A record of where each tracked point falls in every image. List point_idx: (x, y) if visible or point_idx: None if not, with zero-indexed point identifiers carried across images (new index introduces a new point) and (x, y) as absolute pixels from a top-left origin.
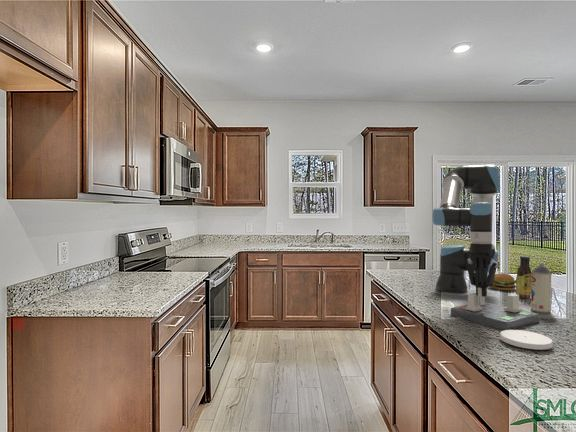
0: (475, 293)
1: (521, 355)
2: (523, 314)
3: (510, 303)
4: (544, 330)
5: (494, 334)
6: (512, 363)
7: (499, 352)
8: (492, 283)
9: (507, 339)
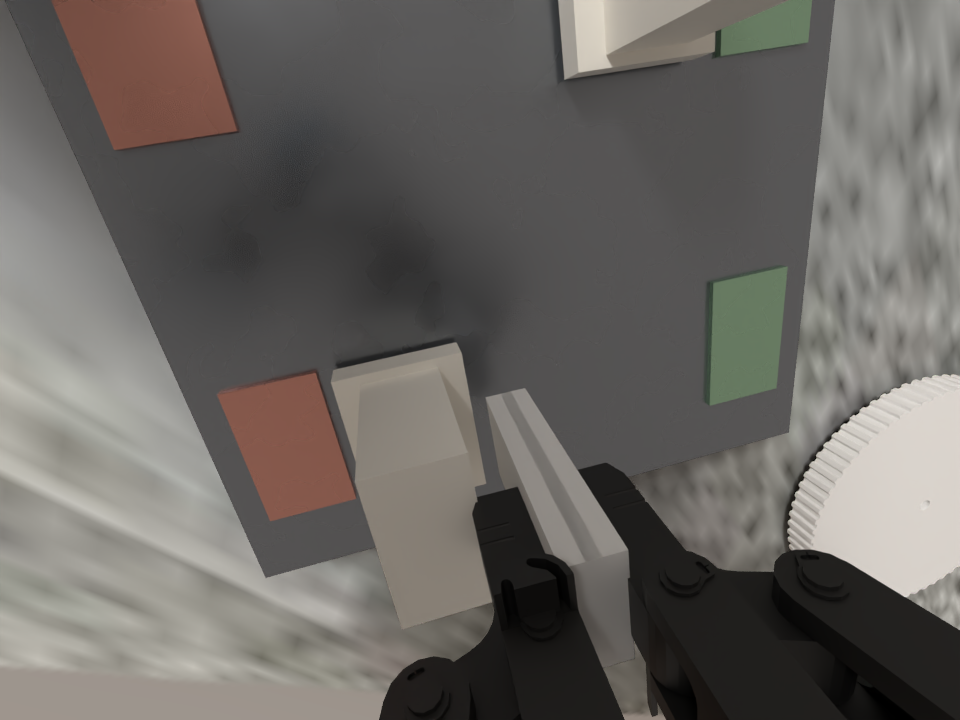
0: (402, 500)
1: (911, 599)
2: (779, 26)
3: (704, 24)
4: (893, 100)
5: (728, 522)
6: None
7: None
8: (910, 609)
9: None
